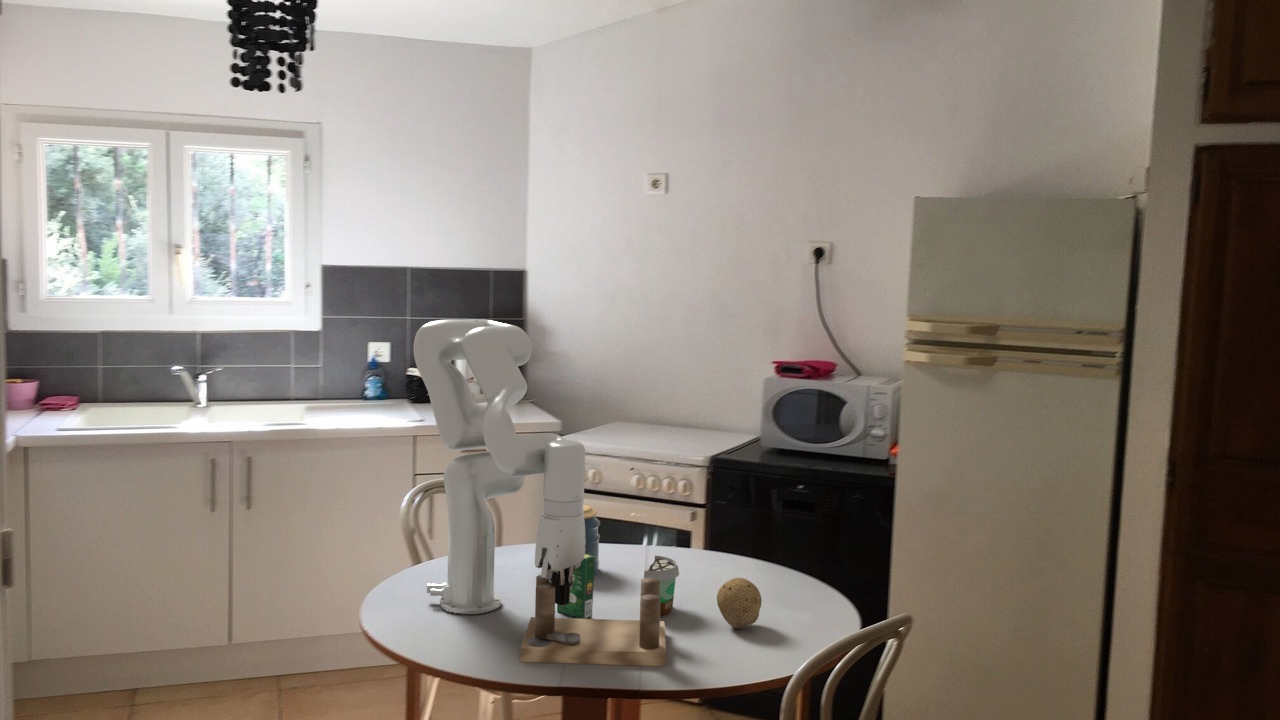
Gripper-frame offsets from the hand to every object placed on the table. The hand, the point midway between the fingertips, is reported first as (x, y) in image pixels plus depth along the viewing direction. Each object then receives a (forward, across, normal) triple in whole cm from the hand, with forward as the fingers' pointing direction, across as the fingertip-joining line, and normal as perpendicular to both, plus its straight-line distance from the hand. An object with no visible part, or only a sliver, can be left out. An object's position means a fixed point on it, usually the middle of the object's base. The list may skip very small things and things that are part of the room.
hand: (560, 602), depth 187 cm
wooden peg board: (+8, -3, +7) cm, 11 cm away
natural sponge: (+8, -29, +23) cm, 38 cm away
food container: (+8, -27, +6) cm, 29 cm away
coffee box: (+8, -14, -7) cm, 18 cm away
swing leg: (+5, +4, +3) cm, 7 cm away
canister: (+9, -37, -25) cm, 46 cm away
